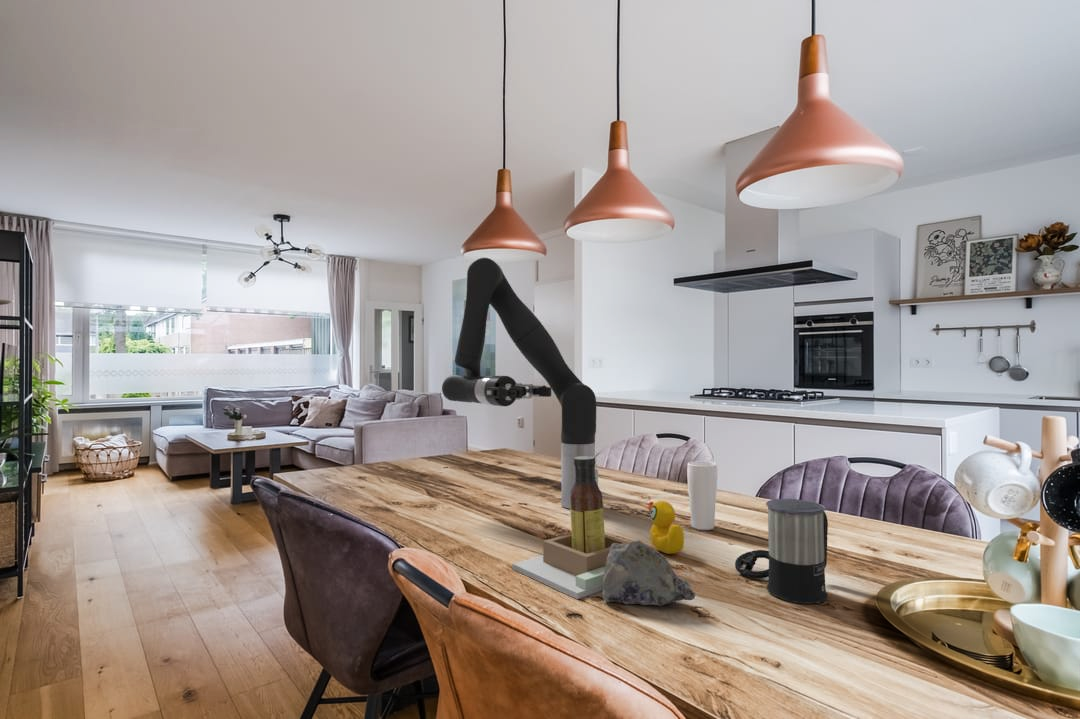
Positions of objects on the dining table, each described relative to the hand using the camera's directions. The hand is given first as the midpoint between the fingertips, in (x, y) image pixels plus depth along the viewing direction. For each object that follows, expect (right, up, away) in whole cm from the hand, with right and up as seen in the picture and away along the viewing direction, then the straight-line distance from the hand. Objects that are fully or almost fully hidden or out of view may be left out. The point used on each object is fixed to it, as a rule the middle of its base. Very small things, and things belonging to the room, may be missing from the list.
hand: (536, 392), depth 130 cm
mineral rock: (+18, -32, -39) cm, 53 cm away
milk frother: (+42, -32, -32) cm, 62 cm away
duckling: (+27, -32, -14) cm, 44 cm away
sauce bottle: (+10, -31, -23) cm, 40 cm away
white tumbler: (+39, -32, +3) cm, 50 cm away
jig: (+10, -32, -23) cm, 41 cm away
